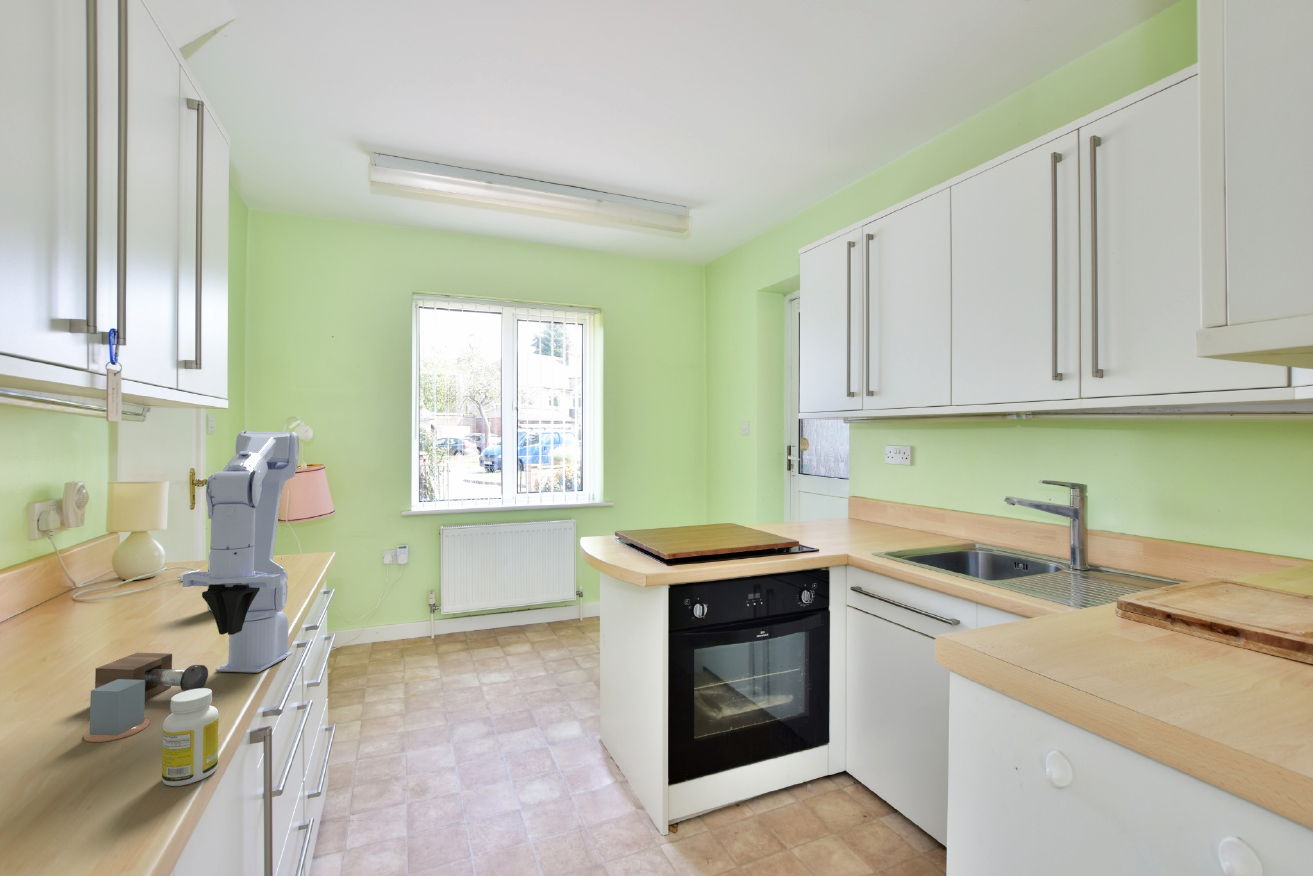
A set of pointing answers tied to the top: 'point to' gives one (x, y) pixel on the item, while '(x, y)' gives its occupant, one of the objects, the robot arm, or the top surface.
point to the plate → (112, 737)
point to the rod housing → (134, 670)
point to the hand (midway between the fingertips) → (230, 632)
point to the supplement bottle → (190, 738)
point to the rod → (178, 677)
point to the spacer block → (117, 707)
